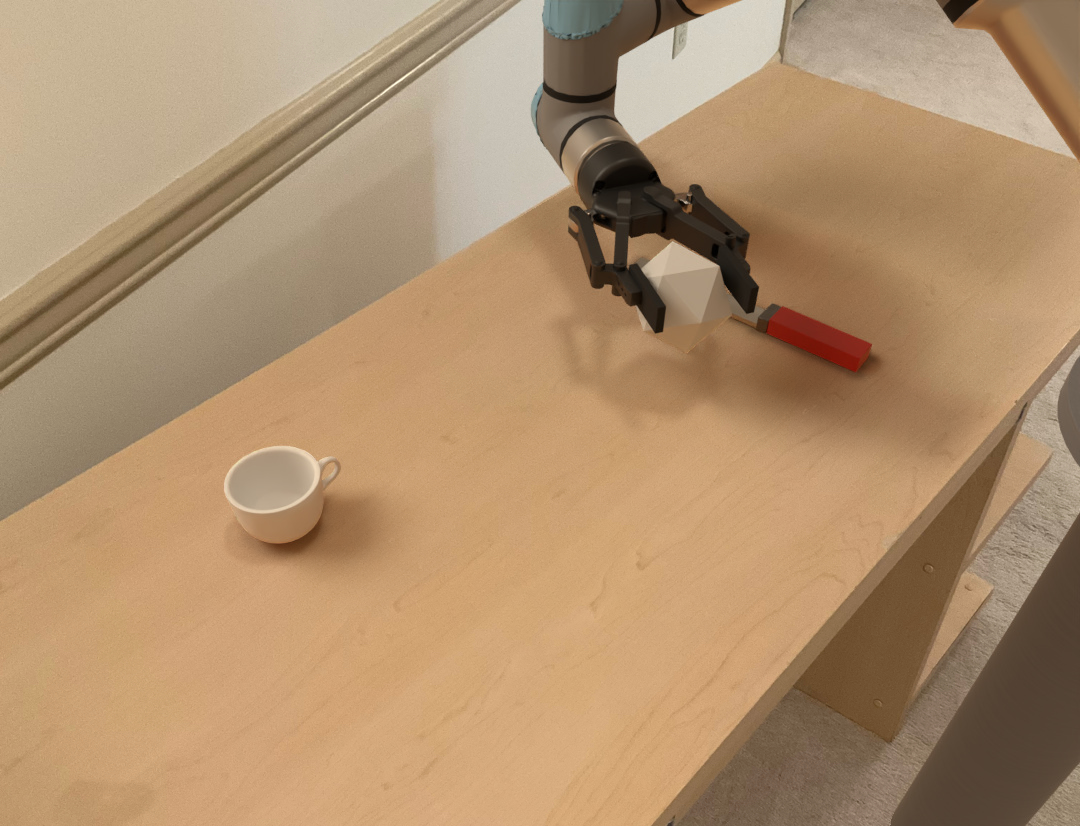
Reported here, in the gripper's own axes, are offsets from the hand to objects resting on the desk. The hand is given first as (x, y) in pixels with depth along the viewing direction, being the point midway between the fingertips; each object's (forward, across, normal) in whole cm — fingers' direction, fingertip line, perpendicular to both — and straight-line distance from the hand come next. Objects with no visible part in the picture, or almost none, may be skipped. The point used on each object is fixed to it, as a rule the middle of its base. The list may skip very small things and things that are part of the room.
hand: (707, 310), depth 88 cm
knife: (-12, -11, -12) cm, 20 cm away
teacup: (+2, +38, -12) cm, 40 cm away
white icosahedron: (-5, 0, -6) cm, 8 cm away
